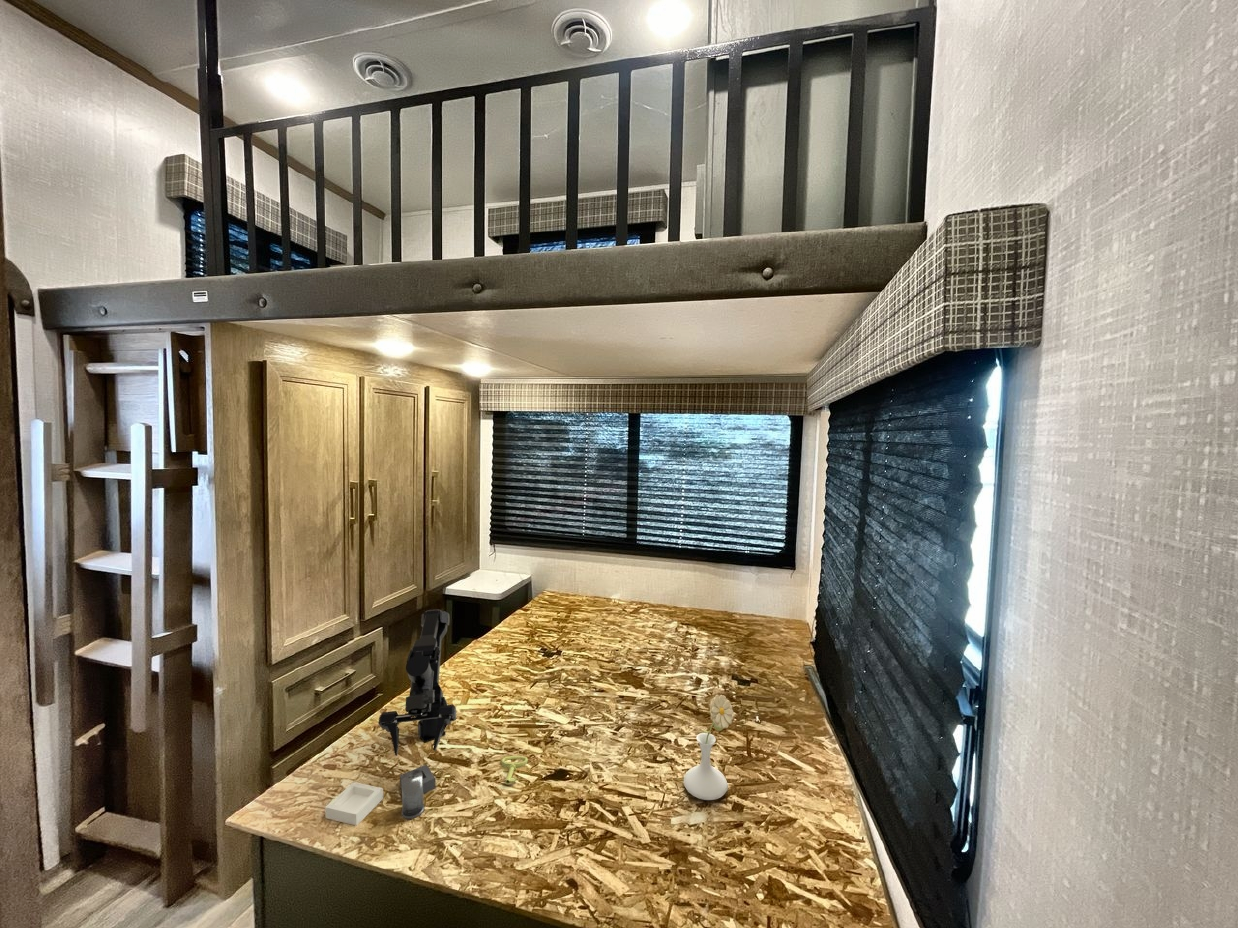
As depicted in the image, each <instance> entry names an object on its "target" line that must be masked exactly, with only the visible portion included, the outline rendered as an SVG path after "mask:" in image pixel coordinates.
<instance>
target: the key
mask: <svg viewBox="0 0 1238 928" xmlns="http://www.w3.org/2000/svg"><path fill="white" fill-rule="evenodd" d="M510 760H522V761H520V762H519V761H518V762H507V761H510ZM527 764H528V757H527V756H523V755H508V756H504V757H502V759H501V766H502V767H504V768H508V773H507V776H506V778H505V781H504V782H505V784H506V785H509V784H510V783H511V784H512V783H513V784H514V783H516V781H517V778H512V776H513V775H514V774H513V773H514V771H516V769H518V768H522V767H525V766H526V765H527Z"/></svg>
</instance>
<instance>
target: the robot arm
mask: <svg viewBox="0 0 1238 928" xmlns="http://www.w3.org/2000/svg"><path fill="white" fill-rule="evenodd" d="M450 619H451V617H450V613H449V612H448V611H443V610H442V609H429V610H426V611H424V612H423V613H422V614H421V621H420V622H421V624H420V626H421V627H422V629H421V633H420V637H419V638H418V639H416V640H415V641H414V643H413V646H412V648H411V649H410V650H409V652H408V653H409V654H408V657H407V661H406V666H405V671H406V672H407V673H406V674H407V675H408V678H409V680H410V691H409V695H408V696H406V697H405V707H404V708H405V712H406V713H402V714H399V713H398V711H397V710H391V711H383V712H382V713H381V714H379V718H378V726H379V727H380V729H382V730H385V731H386V733H389V734H390V738H391V741H392V747H393V753H394V756H395V757H397V756H398V753H399V746H400V745H399V743H400V727H399V725H400V723H407V722H409V723H410V722H417V735H418V736H419V738H420V739H422V742H424V743H427V742H430V741H432V740H434V741H433V751H437V748H438V745H439V743H440V742H441V741H440V740H441V738H442V737H443V736H445V735H446V731H445V730H446V728H447V726H449V725H451V724H452V722H454V721H457V708H456V706H455V705H454V704H448V701H447V700H446V697H445V696H444V692H443V690H442V687H441V686H440V684H439V683H440V669H441V655H442V640H443V638H444V637H445V636H446V634H447V632H448V626H450Z"/></svg>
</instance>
